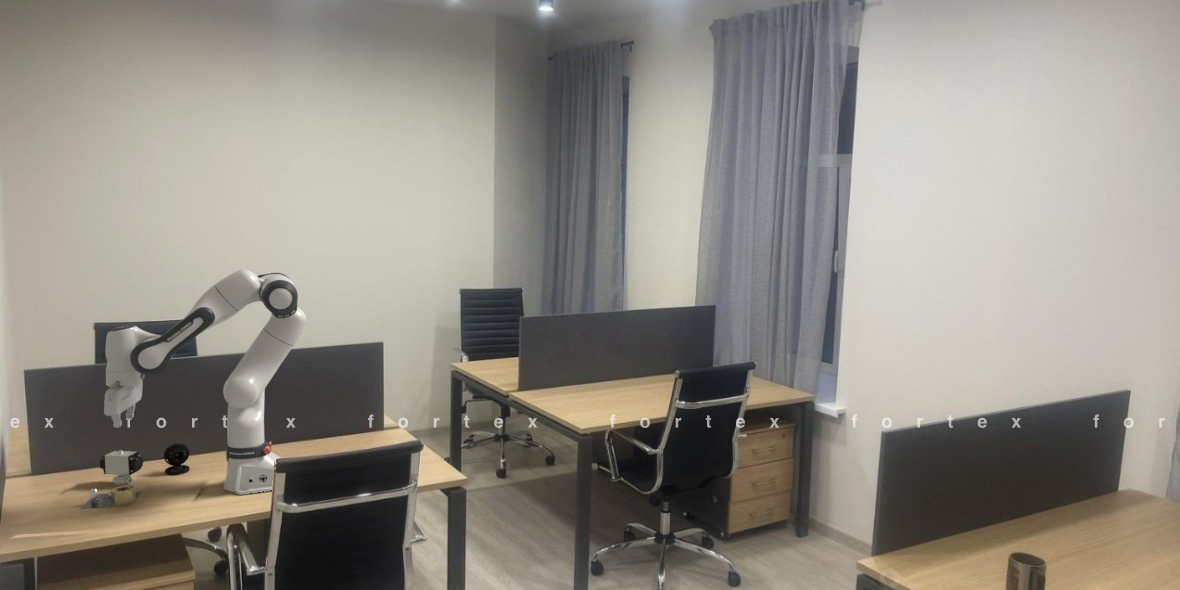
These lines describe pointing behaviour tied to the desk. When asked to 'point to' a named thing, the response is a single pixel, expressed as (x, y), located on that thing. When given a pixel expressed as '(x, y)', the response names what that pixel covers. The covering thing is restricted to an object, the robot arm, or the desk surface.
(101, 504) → the carrier
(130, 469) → the pneumatic valve
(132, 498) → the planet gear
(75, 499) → the desk surface
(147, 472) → the desk surface
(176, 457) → the webcam
